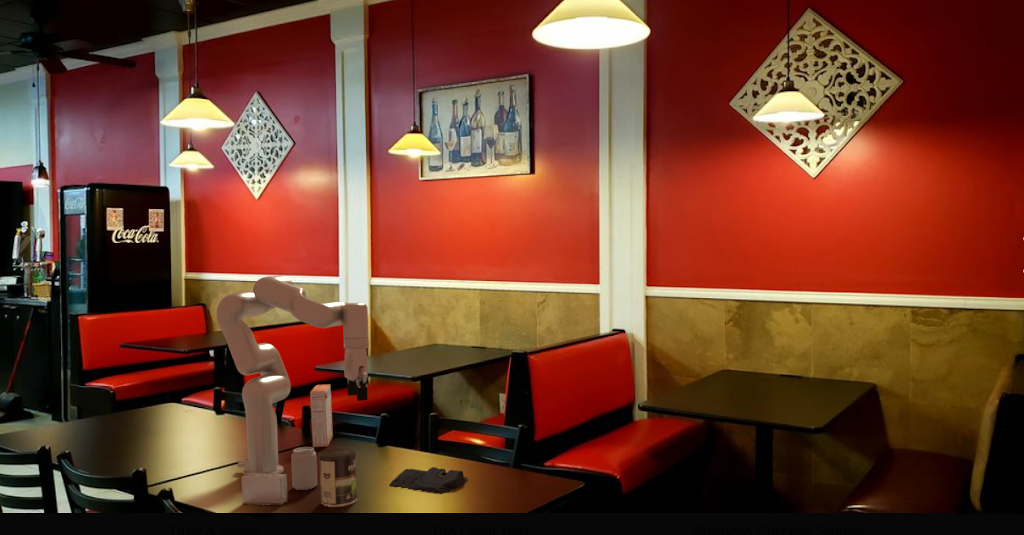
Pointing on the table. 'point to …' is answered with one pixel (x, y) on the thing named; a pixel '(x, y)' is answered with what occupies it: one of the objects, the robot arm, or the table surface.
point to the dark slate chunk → (430, 480)
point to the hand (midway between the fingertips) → (357, 397)
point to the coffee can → (338, 477)
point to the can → (304, 468)
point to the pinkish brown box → (264, 489)
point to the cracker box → (321, 415)
